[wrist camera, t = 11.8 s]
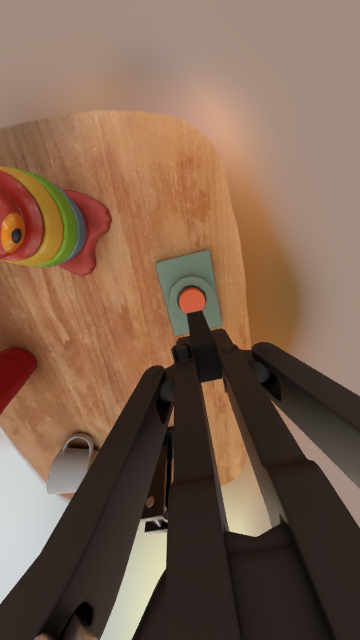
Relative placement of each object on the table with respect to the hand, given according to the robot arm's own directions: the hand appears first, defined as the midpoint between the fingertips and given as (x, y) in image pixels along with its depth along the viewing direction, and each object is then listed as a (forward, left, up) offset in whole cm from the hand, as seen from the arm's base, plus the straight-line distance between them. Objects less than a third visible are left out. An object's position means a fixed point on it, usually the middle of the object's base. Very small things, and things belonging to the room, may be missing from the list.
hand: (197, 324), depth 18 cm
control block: (0, 0, -14) cm, 14 cm away
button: (0, 0, -10) cm, 10 cm away
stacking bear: (+19, +6, -14) cm, 24 cm away
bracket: (-21, +29, -14) cm, 38 cm away
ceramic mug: (-9, +43, -14) cm, 46 cm away
